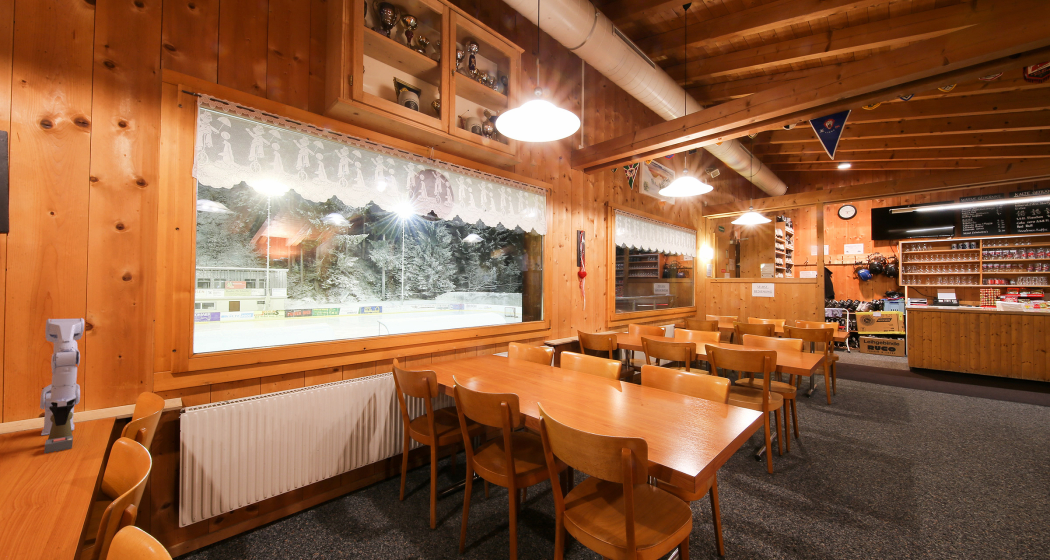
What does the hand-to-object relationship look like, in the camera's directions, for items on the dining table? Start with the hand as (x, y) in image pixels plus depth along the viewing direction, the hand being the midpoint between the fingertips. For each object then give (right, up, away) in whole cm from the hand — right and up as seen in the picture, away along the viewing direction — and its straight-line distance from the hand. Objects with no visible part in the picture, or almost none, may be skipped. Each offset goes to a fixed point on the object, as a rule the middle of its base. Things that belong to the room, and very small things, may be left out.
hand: (61, 422), depth 137 cm
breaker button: (+6, -6, -6) cm, 10 cm away
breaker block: (+6, -7, -6) cm, 11 cm away
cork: (0, -7, 0) cm, 7 cm away
